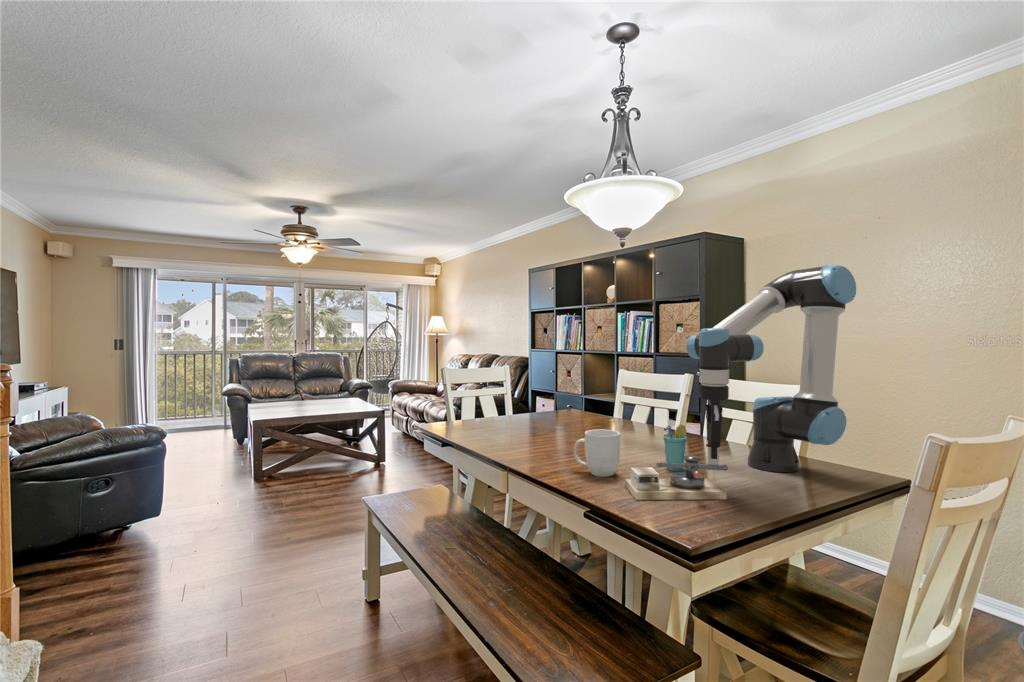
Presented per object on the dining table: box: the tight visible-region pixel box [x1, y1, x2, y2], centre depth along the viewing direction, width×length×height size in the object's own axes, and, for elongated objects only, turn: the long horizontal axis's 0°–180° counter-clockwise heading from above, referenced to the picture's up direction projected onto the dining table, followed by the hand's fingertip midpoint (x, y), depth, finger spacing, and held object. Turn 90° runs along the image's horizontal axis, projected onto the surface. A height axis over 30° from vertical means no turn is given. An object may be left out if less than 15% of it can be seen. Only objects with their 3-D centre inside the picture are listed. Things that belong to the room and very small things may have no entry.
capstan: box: [656, 454, 729, 489], centre depth 134 cm, size 19×19×7 cm
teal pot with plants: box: [662, 424, 688, 472], centre depth 157 cm, size 14×8×15 cm, turn 140°
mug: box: [573, 428, 621, 478], centre depth 153 cm, size 15×11×13 cm
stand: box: [624, 466, 728, 501], centre depth 134 cm, size 24×12×6 cm, turn 91°
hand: (713, 469), depth 134 cm, fingers closed
